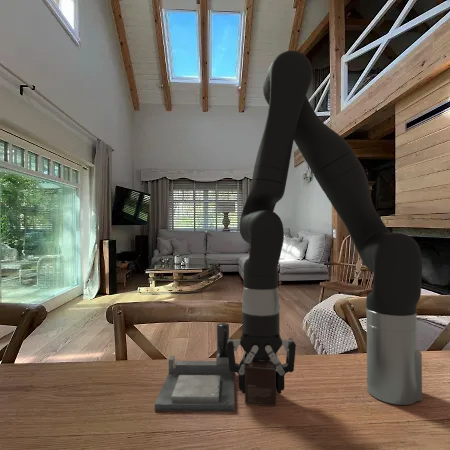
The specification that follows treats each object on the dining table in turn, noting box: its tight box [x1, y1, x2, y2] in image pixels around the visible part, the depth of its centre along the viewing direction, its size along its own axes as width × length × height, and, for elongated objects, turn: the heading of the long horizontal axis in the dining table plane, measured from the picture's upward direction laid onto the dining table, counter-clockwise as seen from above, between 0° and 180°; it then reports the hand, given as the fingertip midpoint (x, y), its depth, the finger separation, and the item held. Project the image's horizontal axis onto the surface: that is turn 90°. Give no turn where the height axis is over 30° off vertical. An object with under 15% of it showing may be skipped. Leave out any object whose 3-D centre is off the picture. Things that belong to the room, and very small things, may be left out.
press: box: [154, 355, 236, 413], centre depth 69 cm, size 15×16×4 cm
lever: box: [215, 322, 230, 365], centre depth 75 cm, size 3×3×9 cm
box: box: [244, 360, 278, 407], centre depth 65 cm, size 6×6×7 cm
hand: (261, 391), depth 65 cm, fingers closed on box, 6 cm apart
